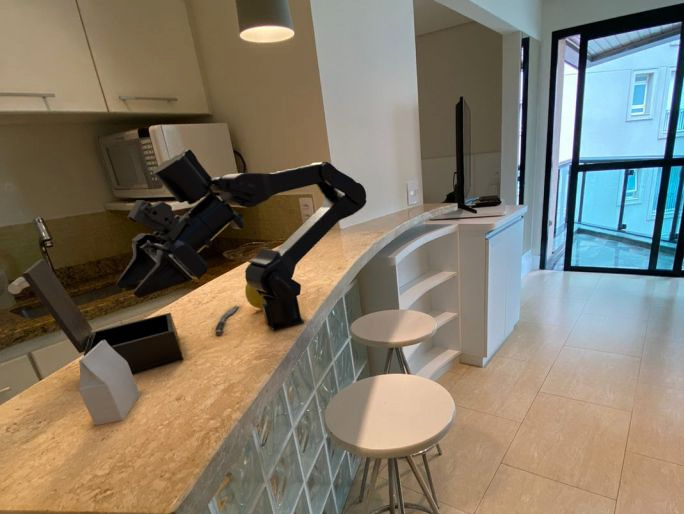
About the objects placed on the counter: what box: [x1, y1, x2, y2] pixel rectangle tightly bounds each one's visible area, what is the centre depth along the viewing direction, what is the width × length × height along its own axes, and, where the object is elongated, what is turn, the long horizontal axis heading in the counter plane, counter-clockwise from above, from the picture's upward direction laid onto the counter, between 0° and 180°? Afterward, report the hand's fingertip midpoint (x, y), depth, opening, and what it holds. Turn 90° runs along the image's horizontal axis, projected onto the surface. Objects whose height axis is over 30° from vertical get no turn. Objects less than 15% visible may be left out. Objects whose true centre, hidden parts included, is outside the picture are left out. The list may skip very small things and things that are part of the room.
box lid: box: [7, 258, 93, 354], centre depth 67 cm, size 14×12×4 cm
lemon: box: [244, 282, 264, 311], centre depth 93 cm, size 6×6×8 cm
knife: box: [215, 305, 239, 335], centre depth 90 cm, size 17×1×3 cm
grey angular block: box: [77, 340, 141, 426], centre depth 59 cm, size 4×7×10 cm, turn 10°
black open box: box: [83, 312, 184, 376], centre depth 75 cm, size 14×12×6 cm
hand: (126, 290), depth 63 cm, fingers open, 9 cm apart
